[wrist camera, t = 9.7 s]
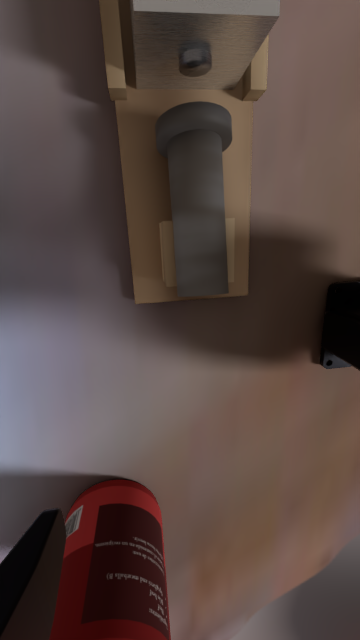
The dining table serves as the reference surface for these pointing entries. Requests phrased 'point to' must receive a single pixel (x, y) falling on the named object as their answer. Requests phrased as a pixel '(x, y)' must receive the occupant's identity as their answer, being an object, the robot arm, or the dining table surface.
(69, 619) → the canned food
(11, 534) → the dining table surface
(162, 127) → the shaft bench
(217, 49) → the block
